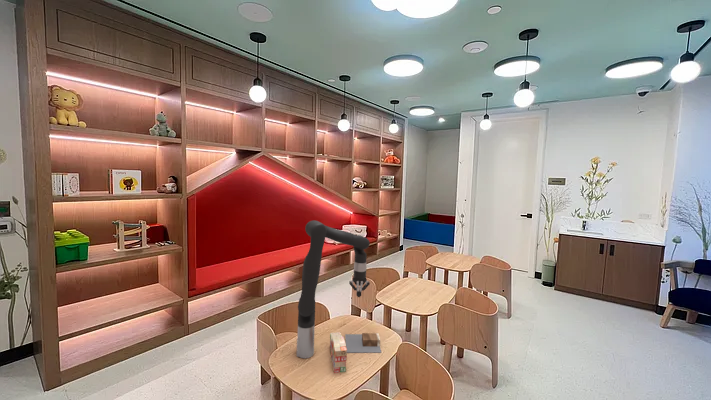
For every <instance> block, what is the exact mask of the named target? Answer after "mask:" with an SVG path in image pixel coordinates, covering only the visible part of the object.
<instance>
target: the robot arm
mask: <svg viewBox="0 0 711 400" xmlns="http://www.w3.org/2000/svg"><path fill="white" fill-rule="evenodd" d="M304 229H305V232H306V234H307V235H308V237H310V245H309V248H308V249H309V250H308V252H307V254H306V256H305V258H304V261H303V264H302V273H301V276H302V277H301V292H300V293H301V294H300V298H299V299H298V304H297V310H298V311H297V312H298V314H297V315H298V316H297V338H296V357H297V358H298V357H299V358H301V359H308V358H311V357H313V356H314V354H315V326H316V325H315V323H316V322H315V321H316V291H317V286H318V283H319V278H320V272H321V265H322V259H323V250H324V249H323V248H324V243H325V240H326V239H329V240H332V241H334V242H337V243H340V244H344V245H346V246H352V247H353V251H354V263H353V277H352V279H351V280H349V281H348V283H349V285H350V287H351V289H353V291H356V297H357V298H361V297H362V291H363V292H364V291H366V289H367V288H369V286H370V281H369V280H367V265H368V264H367V255H368V254H367V253H366V251H365V250H366V249H368V248H369V247H370V245H371V244H370V243H371V242H370V240H369V239H368V238H367V237H365V236H363V235H360V234H359V235H357V234H354V233H352V232H349V231H346V230H341V229H338V228H334V227H330V226H327V225H325V224H324V223H322V222H320V221H318V220H309V221H308V222H307V223H306V224H305V228H304Z"/></svg>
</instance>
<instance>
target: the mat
mask: <svg viewBox="0 0 711 400" xmlns="http://www.w3.org/2000/svg"><path fill="white" fill-rule="evenodd" d="M344 337H345V338H344V340H345V344H346V348H347V354H377V353H378V354H382V349H381V345H380V346H363V343H362V333H359V334H358V333H355V334H353V333H350V334H349V333H345V334H344Z"/></svg>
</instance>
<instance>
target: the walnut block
mask: <svg viewBox="0 0 711 400" xmlns="http://www.w3.org/2000/svg"><path fill="white" fill-rule="evenodd" d="M361 334H362V343H363V346H380V347H381V338H380V334H379V332H378V333H377V332H376V333H375V332H365V333H364V332H363V333H361Z"/></svg>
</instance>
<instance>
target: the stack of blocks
mask: <svg viewBox="0 0 711 400" xmlns="http://www.w3.org/2000/svg"><path fill="white" fill-rule="evenodd" d="M329 338H330V339H329V348H330V349H329V350H330V355H331V361H332V370H333V373H334V374H338V373H346V371H347V359H348V358H347V354H348V353H347V348H346V340H345V338H344V335H343V336H342V333H341V332H339V331H337V332H330V334H329Z"/></svg>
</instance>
